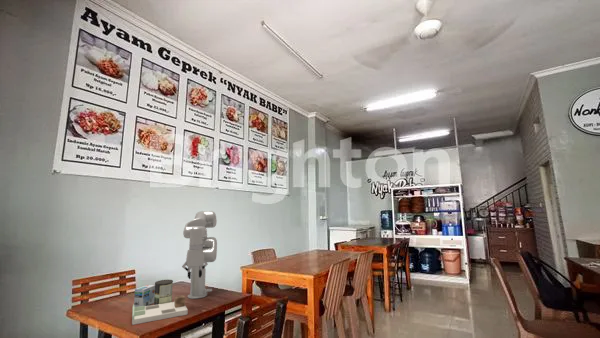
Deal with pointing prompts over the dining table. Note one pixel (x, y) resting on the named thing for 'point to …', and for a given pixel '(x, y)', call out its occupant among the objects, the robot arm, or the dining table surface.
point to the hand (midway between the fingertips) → (194, 277)
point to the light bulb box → (144, 295)
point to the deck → (156, 312)
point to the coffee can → (163, 292)
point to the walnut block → (179, 301)
